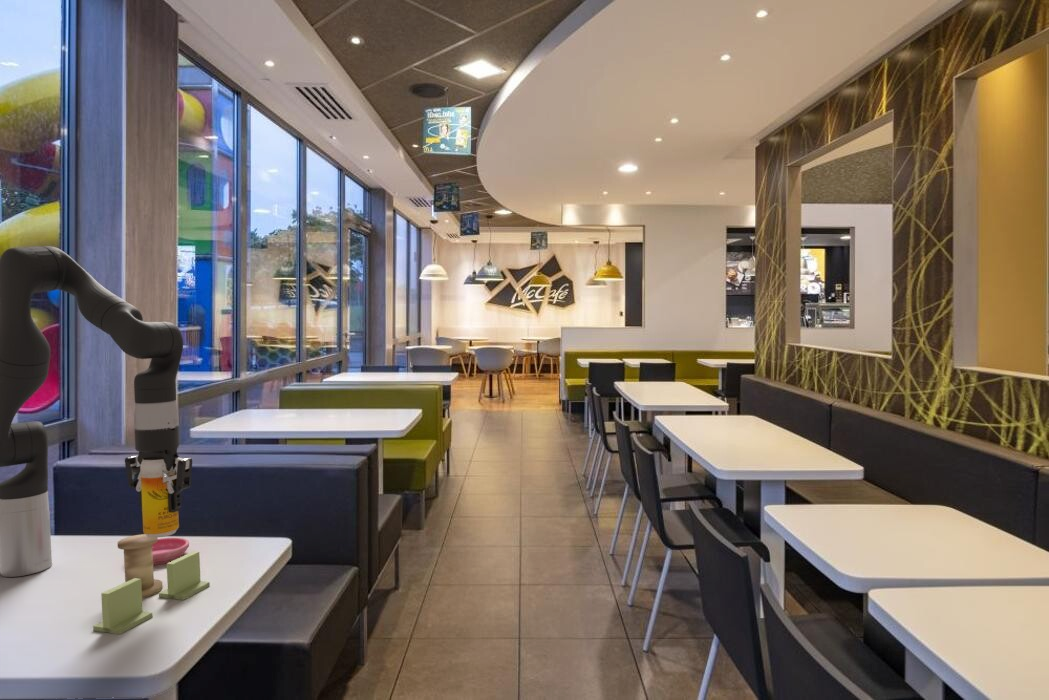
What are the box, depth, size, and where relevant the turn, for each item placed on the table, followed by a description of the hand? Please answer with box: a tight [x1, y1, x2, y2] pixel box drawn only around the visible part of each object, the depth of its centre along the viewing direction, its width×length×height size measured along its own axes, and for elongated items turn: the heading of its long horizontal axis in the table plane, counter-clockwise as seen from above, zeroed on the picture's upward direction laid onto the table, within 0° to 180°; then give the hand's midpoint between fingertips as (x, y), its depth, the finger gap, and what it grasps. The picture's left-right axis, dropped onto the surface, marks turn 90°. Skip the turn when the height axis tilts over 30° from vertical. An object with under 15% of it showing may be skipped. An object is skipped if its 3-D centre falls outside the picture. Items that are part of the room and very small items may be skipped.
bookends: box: [92, 550, 211, 635], centre depth 126 cm, size 6×22×7 cm, turn 164°
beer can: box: [140, 458, 180, 539], centre depth 127 cm, size 6×6×15 cm
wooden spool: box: [117, 533, 164, 599], centre depth 133 cm, size 8×8×11 cm
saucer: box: [152, 537, 190, 566], centre depth 153 cm, size 12×12×3 cm
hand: (160, 510), depth 127 cm, fingers closed on beer can, 6 cm apart
